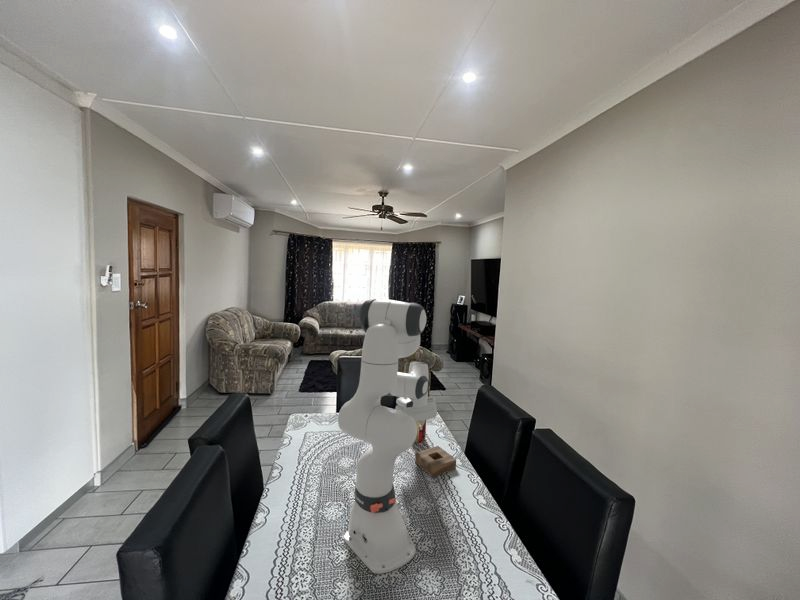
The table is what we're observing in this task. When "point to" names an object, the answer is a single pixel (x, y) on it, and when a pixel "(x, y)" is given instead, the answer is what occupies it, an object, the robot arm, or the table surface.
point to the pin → (417, 431)
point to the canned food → (422, 433)
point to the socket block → (435, 461)
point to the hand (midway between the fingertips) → (415, 430)
